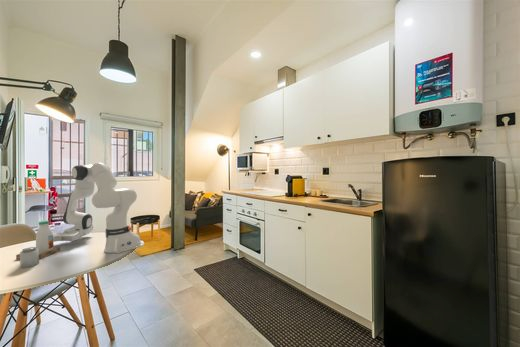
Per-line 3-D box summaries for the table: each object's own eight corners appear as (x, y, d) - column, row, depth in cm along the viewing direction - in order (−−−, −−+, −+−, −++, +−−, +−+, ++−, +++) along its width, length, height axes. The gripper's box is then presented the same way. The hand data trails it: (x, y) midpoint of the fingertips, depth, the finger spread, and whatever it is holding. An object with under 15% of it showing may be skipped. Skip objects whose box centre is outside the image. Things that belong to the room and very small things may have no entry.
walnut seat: (39, 250, 137) (39, 247, 137) (60, 250, 136) (59, 247, 136) (16, 259, 124) (16, 255, 124) (39, 259, 124) (39, 255, 124)
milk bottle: (43, 255, 130) (42, 222, 129) (32, 254, 131) (31, 222, 130) (57, 250, 138) (55, 219, 137) (46, 249, 138) (45, 219, 138)
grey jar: (40, 261, 122) (39, 245, 121) (37, 265, 116) (37, 248, 116) (22, 264, 117) (21, 248, 117) (18, 269, 112) (18, 252, 112)
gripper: (56, 229, 152) (35, 236, 138) (84, 229, 151) (65, 236, 137) (56, 238, 152) (35, 245, 138) (84, 238, 151) (65, 245, 137)
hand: (50, 240), depth 138 cm, fingers closed, pressing on milk bottle
